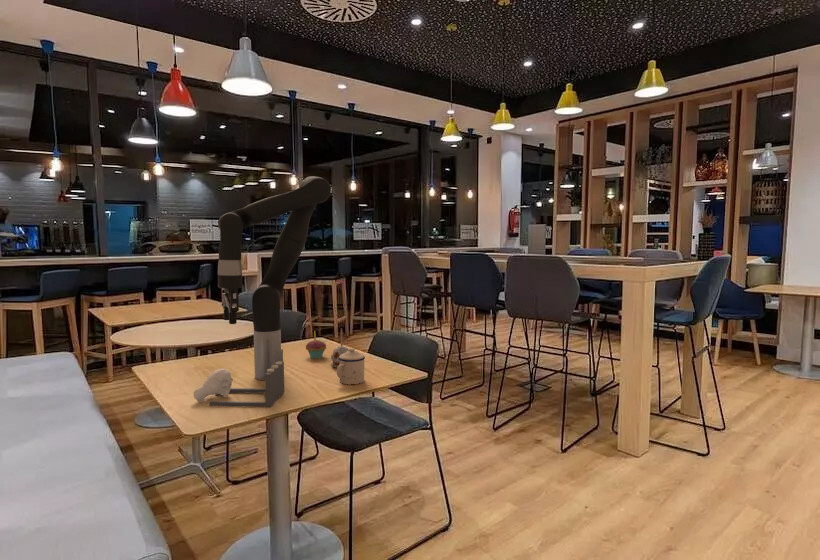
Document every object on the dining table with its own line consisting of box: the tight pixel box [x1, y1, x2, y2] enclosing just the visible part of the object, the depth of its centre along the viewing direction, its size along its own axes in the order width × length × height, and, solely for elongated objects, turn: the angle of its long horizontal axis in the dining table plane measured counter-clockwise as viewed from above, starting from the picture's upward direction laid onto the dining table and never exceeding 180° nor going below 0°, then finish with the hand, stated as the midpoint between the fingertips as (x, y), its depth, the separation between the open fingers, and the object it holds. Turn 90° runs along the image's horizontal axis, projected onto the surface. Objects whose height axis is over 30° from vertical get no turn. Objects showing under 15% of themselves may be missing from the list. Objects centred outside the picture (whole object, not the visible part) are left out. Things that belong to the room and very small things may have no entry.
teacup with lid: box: [336, 347, 366, 386], centre depth 160 cm, size 12×9×12 cm
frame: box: [208, 361, 285, 409], centre depth 143 cm, size 19×14×11 cm
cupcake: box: [305, 330, 327, 359], centre depth 193 cm, size 9×8×12 cm
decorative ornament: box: [330, 328, 350, 368], centre depth 180 cm, size 8×8×15 cm
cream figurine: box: [192, 367, 234, 404], centre depth 143 cm, size 6×8×12 cm
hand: (229, 321), depth 154 cm, fingers open, 8 cm apart
